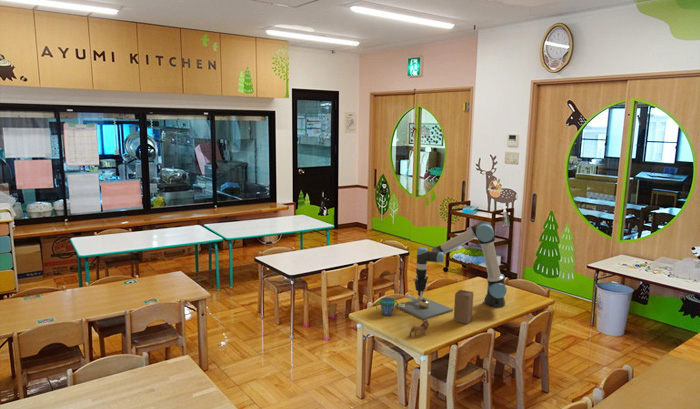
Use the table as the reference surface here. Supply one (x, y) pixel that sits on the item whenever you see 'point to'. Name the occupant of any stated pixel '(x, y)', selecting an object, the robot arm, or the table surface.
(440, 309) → the dial plate
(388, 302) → the snack cup
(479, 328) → the table surface
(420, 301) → the brass ladle
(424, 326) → the lion figurine
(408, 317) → the table surface
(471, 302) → the wooden block
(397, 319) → the table surface
